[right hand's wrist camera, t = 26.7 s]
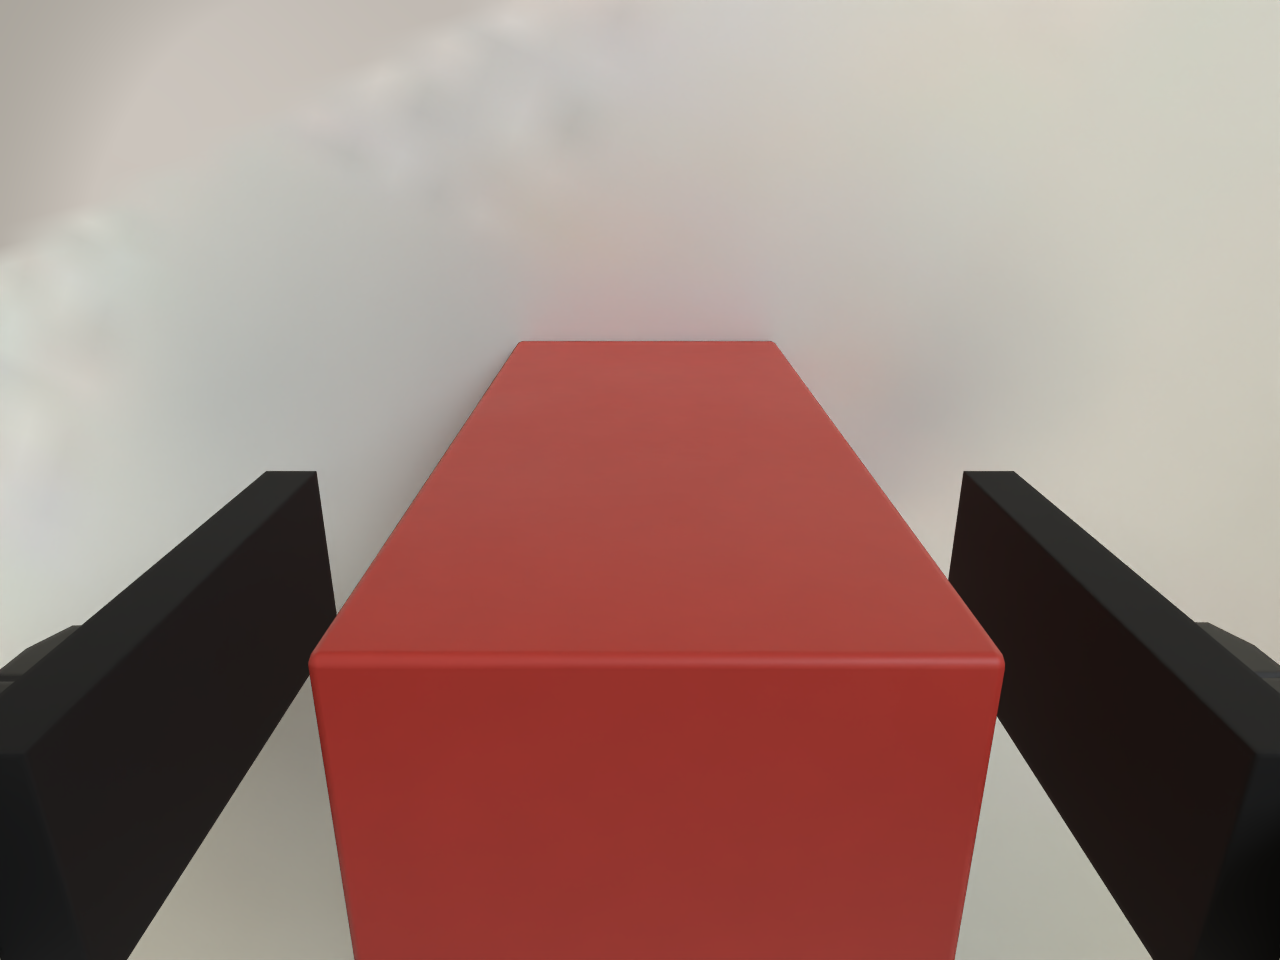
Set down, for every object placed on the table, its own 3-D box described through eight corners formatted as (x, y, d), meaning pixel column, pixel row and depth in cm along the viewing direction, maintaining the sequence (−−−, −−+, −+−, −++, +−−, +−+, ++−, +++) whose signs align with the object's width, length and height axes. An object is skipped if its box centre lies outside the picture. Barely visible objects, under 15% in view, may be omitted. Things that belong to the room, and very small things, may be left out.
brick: (761, 596, 18) (920, 1176, 8) (530, 595, 18) (383, 1175, 8) (775, 340, 16) (1012, 658, 6) (517, 340, 16) (300, 658, 6)
